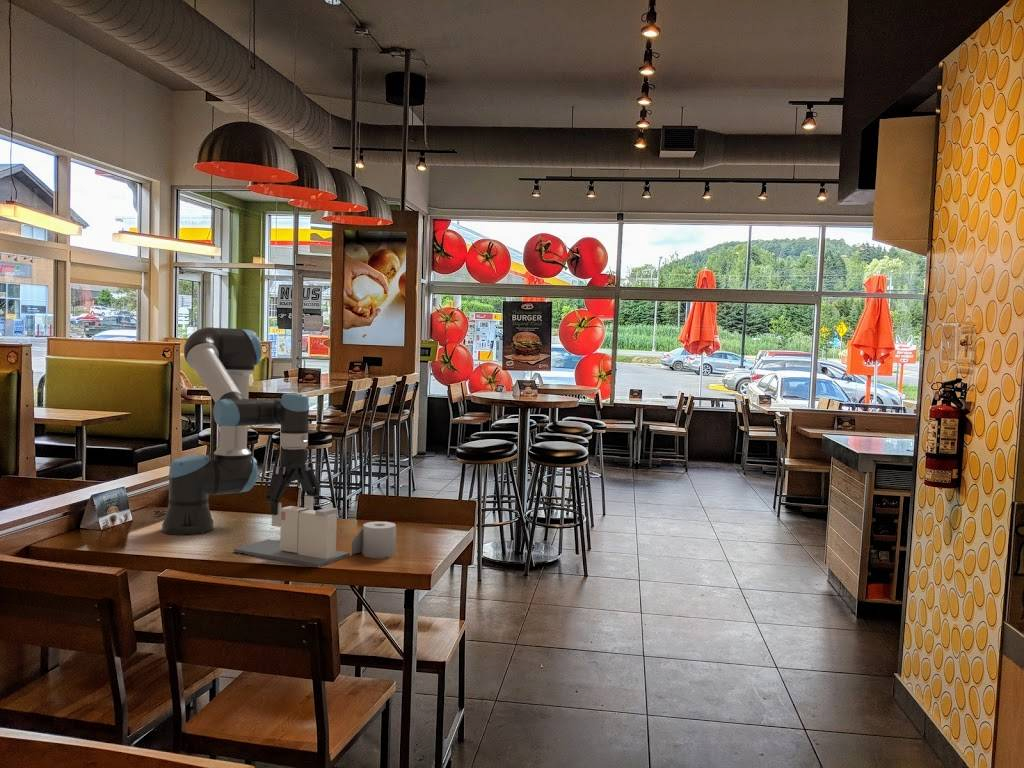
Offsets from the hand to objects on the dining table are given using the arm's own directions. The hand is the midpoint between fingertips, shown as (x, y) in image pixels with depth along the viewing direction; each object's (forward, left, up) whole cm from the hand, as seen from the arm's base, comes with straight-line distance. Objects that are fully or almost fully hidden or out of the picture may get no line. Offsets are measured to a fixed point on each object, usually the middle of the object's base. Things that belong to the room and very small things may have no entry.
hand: (292, 522), depth 219 cm
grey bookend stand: (0, 0, -9) cm, 9 cm away
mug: (-9, +19, -10) cm, 23 cm away
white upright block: (0, 0, -8) cm, 8 cm away
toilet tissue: (+19, +13, -10) cm, 25 cm away
